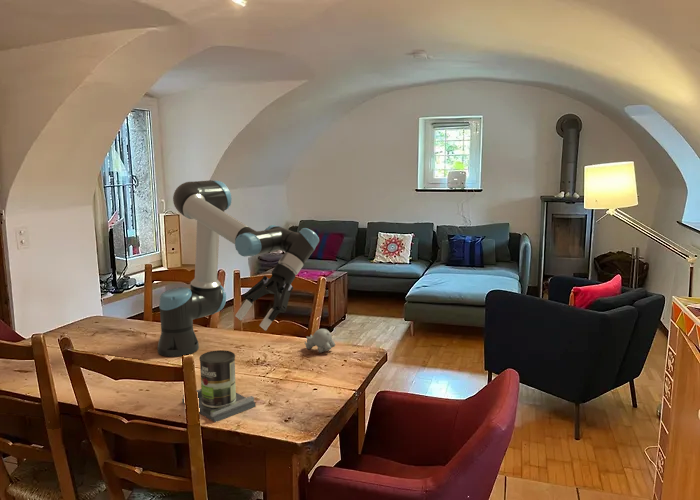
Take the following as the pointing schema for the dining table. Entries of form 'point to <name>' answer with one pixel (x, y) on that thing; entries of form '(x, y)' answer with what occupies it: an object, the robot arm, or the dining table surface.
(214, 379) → the coffee can
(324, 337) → the round bodied animal figurine
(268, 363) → the dining table surface
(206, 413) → the plate
